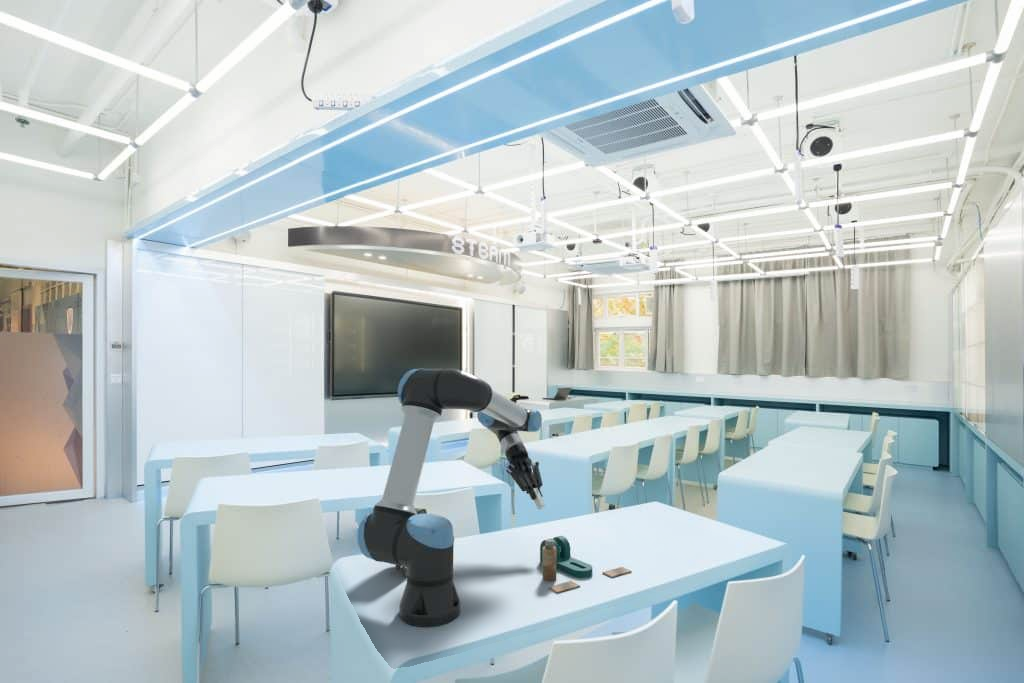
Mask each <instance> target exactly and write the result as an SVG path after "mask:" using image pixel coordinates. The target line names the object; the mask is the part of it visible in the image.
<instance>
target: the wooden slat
mask: <svg viewBox="0 0 1024 683" xmlns="http://www.w3.org/2000/svg"><path fill="white" fill-rule="evenodd" d="M632 572H633V571H632V570H631V569H628V568H626V567H624V566H621V567H616V568H614V569H613V568H612V569H609V570H605V571H603V572H602V574H603V575H604V576H607V577H609V578H611V579H613V578H617V577H620V576H623V575H627V574H630V573H632ZM578 588H581V585H579V584H578V583H576V582H574V581H572V580H569V581H565V582H561V583H558V584H554V585H551V586H548V589H549V590H550V591H552V592H554V593H556V594H560V593H563V592H568V591H571V590H574V589H578Z"/></svg>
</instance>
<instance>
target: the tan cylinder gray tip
mask: <svg viewBox="0 0 1024 683" xmlns="http://www.w3.org/2000/svg"><path fill="white" fill-rule="evenodd" d="M545 540H546V541H545V546H544V547H543V563H542V581H544V582H545V583H554V582H557V569H556V547H554V541H553V540H547V539H545Z"/></svg>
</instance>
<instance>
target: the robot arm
mask: <svg viewBox="0 0 1024 683" xmlns="http://www.w3.org/2000/svg"><path fill="white" fill-rule="evenodd" d="M397 395H399V396H398V401H399V403H400V404H401V411H402V413H403V415H404V418H403V421H402V424H401V429H400V431H399V432H400V433H399V436H398V438H397V441H396V442H397V443H396V446H395V450H394V454H393V457H392V462H391V465H390V468H389V473H388V476H387V479H386V483H385V487H384V490H383V495H382V499H380V500H379V501H378V502H376V503H375V504H374V506H373V510H372V512H369V513H367V514H365V515H364V518H362V519H361V521H360V523H359V526H358V529H357V538H356V540H357V545H358V548H359V549H360V552H361V553H362V555H363V556H365V558H367V559H371V560H374V561H375V562H377V563H378V562H380V563H387V564H390V565H395V566H396V565H399V566H401V567H402V566H404V567H405V568H406V571H407V576H406V584H405V587H404V591H403V593H402V597H401V600H400V603H399V615H398V616H399V619H400V620H401V621H402V622H404V623H405V624H408V625H410V626H411V625H412V626H416V627H426V628H427V627H436V626H441V625H444V624H447V623H450V622H452V621H454V620H455V619H456V618H457V617H458V616H459V615H460V613H461V600H460V598H459V594H458V591H457V587H456V584H455V581H454V544H455V537H454V527H453V524H452V522H451V521H450V519H448V518H447V517H445V516H442V515H439V514H435V513H427V514H417V513H416V511H415V509H414V508H415V506H414V503H415V500H416V499H415V498H416V496H417V492H418V487H419V485H420V484H419V483H420V479H421V475H422V472H423V467H424V464H425V459H426V456H427V452H428V447H429V444H430V440H431V435H432V432H433V431H432V430H433V427H434V425H435V424H434V423H435V422H436V421H438V420H439V419H441V417H442V412H443V410H467V411H470V412H473V413H477V416H476V417H477V420H478V422H479V423H480V424H481V425H482V426H483V427H485V428H486V429H488V430H489V431H491V432H492V433H493V434H494V435H495V436H496V438H497V440H498V442H499V444H500V446H501V448H502V450H503V452H504V454H505V458H506V459H507V461H508V463H509V464H508V466H507V468H506V470H505V472H506V473H508V474H509V475H510V476H511V477H512V479H513V480H514V482H515V483H516V484H517V485H518V487H519V489H520V490H521V491H522V492H526V494H527V495H529V497H530V499H531V500H532V501H533V502H534V504H535V506H536V508H537V510H538V511H539V510H542V509H543V508H544V507H545V506H546V503H545V501H544V499H543V493H542V492H541V488H542V486H543V480H542V475H541V473H540V468H539V466H540V462H538V461H536V462H534V461H533V460H532V459H531V458H530V456H529V452H528V451H527V448H526V446H525V445H524V442H523V440H522V438H521V436H520V434H519V432H527V433H536V432H538V431H540V429H541V427H542V422H543V418H542V414H541V412H540V411H539V410H537V409H531V408H530V409H528V408H525V407H523V406H521V405H519V404H518V403H517V402H514V401H512V400H511V399H509V398H508V397H506V396H504V395H502V394H501V393H499V392H497V391H495V390H494V389H492V386H491V385H490V384H489V383H488V382H486V381H485V380H484V379H482V378H479V377H478V376H475V375H473V374H472V373H470V372H466V371H463V370H461V369H456V368H426V367H421V368H413V369H411V370H409V371H407V372H406V373H405V374H403V376H402V378H401V379H400V381H399V383H398V386H397ZM413 506H414V507H413Z"/></svg>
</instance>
